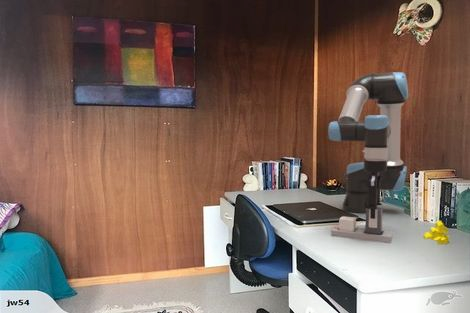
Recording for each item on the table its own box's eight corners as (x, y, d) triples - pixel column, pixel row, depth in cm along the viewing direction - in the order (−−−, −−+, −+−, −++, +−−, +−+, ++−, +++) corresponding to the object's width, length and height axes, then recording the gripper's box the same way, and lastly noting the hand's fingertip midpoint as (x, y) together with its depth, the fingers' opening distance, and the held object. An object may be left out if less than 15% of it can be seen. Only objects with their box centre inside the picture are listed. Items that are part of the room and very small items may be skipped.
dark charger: (367, 231, 139) (367, 206, 138) (381, 232, 137) (382, 207, 136) (365, 234, 135) (365, 209, 134) (380, 236, 132) (381, 210, 132)
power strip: (335, 233, 145) (335, 224, 145) (392, 240, 136) (392, 230, 136) (331, 239, 138) (331, 229, 138) (390, 246, 129) (391, 236, 129)
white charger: (341, 232, 143) (342, 216, 142) (355, 233, 141) (355, 217, 140) (339, 235, 138) (339, 219, 138) (353, 237, 136) (353, 220, 136)
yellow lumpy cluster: (420, 239, 138) (421, 218, 137) (443, 239, 137) (444, 218, 137) (428, 244, 132) (429, 222, 131) (452, 244, 132) (453, 222, 131)
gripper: (367, 157, 143) (366, 218, 145) (360, 161, 127) (358, 230, 129) (389, 158, 140) (387, 220, 142) (384, 162, 124) (382, 233, 126)
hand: (373, 225), depth 135 cm, fingers closed on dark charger, 5 cm apart
